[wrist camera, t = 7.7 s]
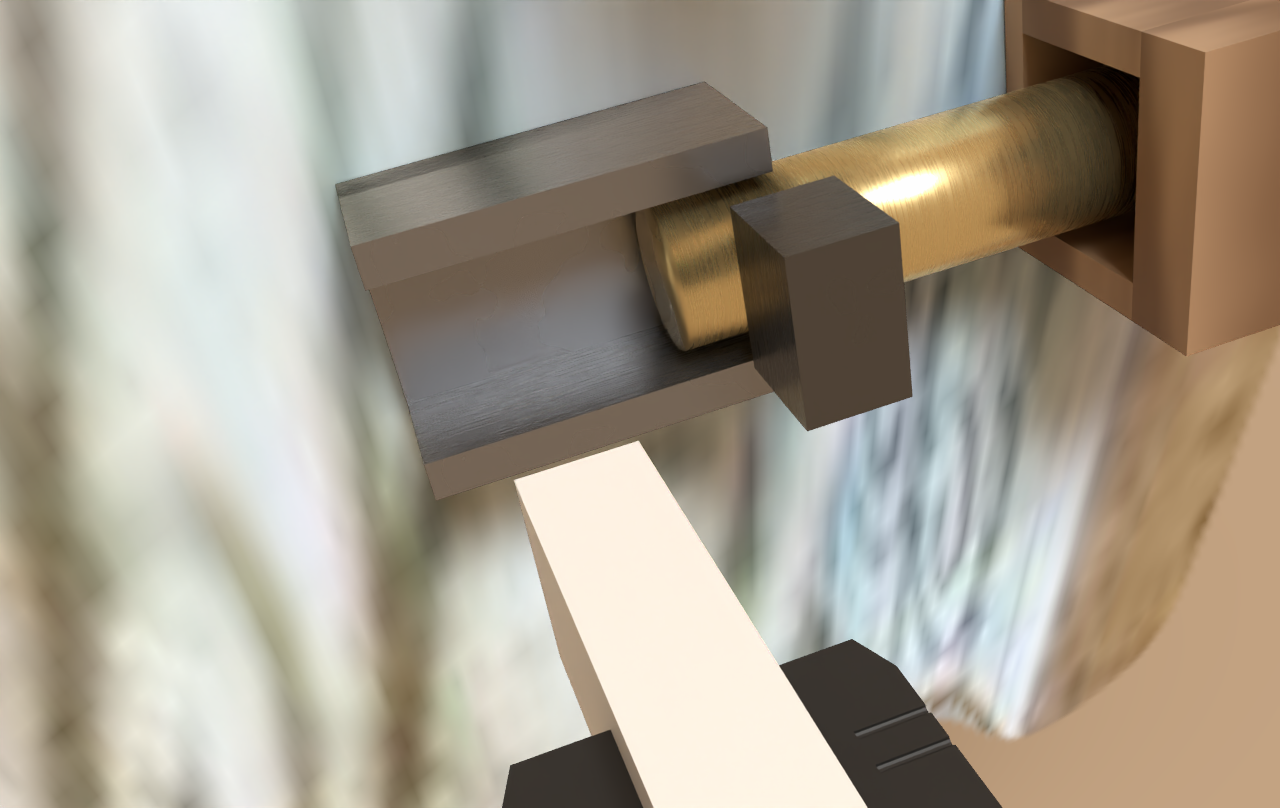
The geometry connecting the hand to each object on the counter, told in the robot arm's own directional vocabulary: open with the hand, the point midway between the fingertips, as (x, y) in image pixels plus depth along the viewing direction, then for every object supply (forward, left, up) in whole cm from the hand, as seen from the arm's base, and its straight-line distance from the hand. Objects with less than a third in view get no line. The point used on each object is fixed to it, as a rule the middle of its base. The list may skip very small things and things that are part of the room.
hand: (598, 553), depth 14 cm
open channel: (+3, -3, -16) cm, 17 cm away
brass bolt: (+11, -3, -15) cm, 19 cm away
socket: (+17, -3, -16) cm, 24 cm away
